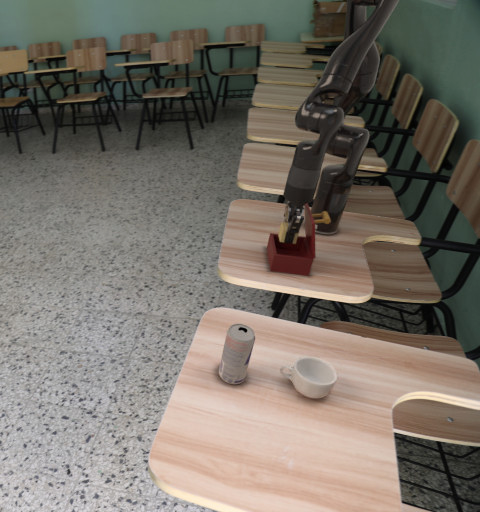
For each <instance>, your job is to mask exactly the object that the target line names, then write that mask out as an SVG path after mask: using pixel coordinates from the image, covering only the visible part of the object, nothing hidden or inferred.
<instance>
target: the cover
mask: <svg viewBox="0 0 480 512" xmlns="http://www.w3.org/2000/svg"><path fill="white" fill-rule="evenodd" d="M304 208H305V209H304V235H305V236H304V237H306V239H307V243H308V246H309V249H310V252H311V255H312V258H313V259H316V233H315V223H325V224H329V223H330V222H331V220H330V218H329V215H328V213H327V212H326V211H324V212H322V213H320V214H311V207H310V205H309V203H306V204H304ZM313 217H322V218H323V219H320V220H314V219H313Z"/></svg>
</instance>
